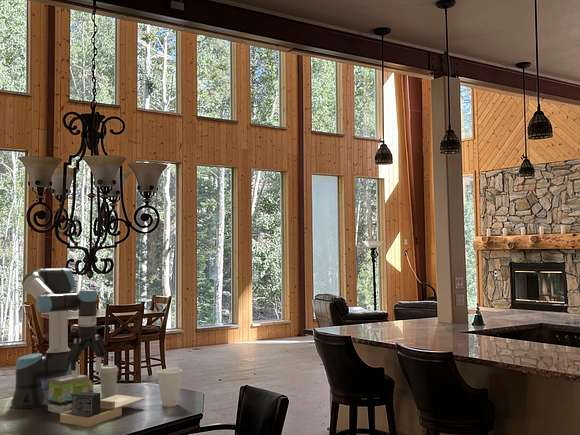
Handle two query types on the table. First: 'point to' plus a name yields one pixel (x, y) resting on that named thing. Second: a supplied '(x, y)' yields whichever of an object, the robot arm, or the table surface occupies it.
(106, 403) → the lid
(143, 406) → the table surface
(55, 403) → the tea box
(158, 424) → the table surface
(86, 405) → the small box
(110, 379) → the coffee cup
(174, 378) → the cup
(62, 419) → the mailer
